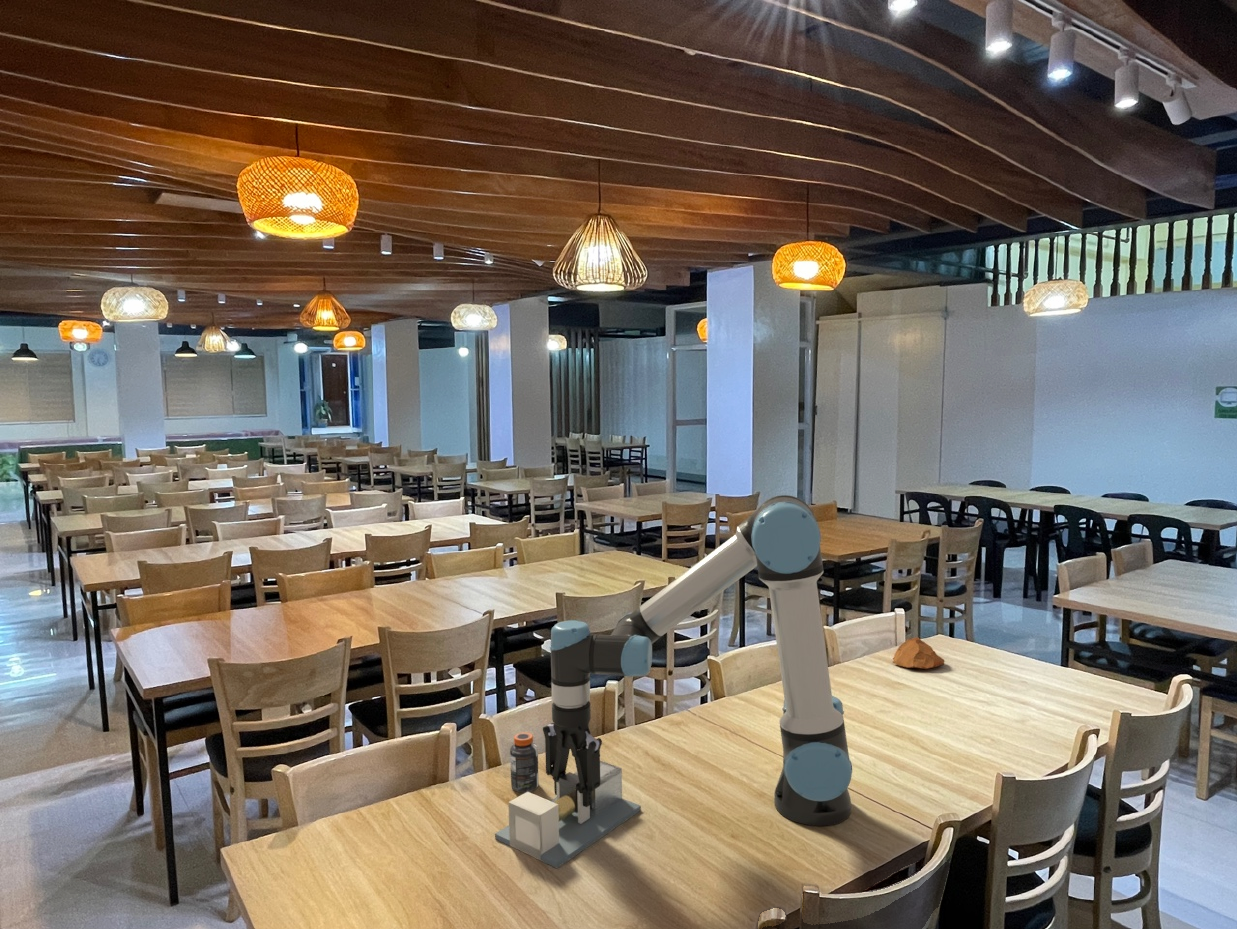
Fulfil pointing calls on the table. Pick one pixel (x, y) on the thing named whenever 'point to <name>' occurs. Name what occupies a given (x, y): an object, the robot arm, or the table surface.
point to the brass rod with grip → (568, 795)
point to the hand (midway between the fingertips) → (573, 815)
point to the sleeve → (606, 788)
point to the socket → (533, 824)
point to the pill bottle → (524, 763)
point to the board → (581, 831)
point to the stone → (916, 655)
